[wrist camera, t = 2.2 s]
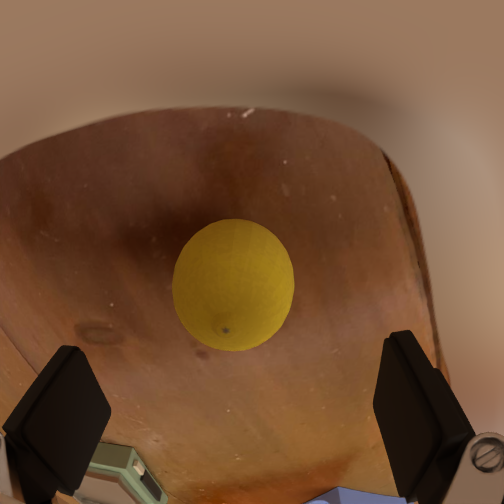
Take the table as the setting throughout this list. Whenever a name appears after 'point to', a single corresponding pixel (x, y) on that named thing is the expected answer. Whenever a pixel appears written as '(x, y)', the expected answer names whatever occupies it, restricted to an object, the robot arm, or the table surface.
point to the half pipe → (354, 498)
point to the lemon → (233, 285)
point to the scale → (129, 470)
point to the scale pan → (106, 489)
